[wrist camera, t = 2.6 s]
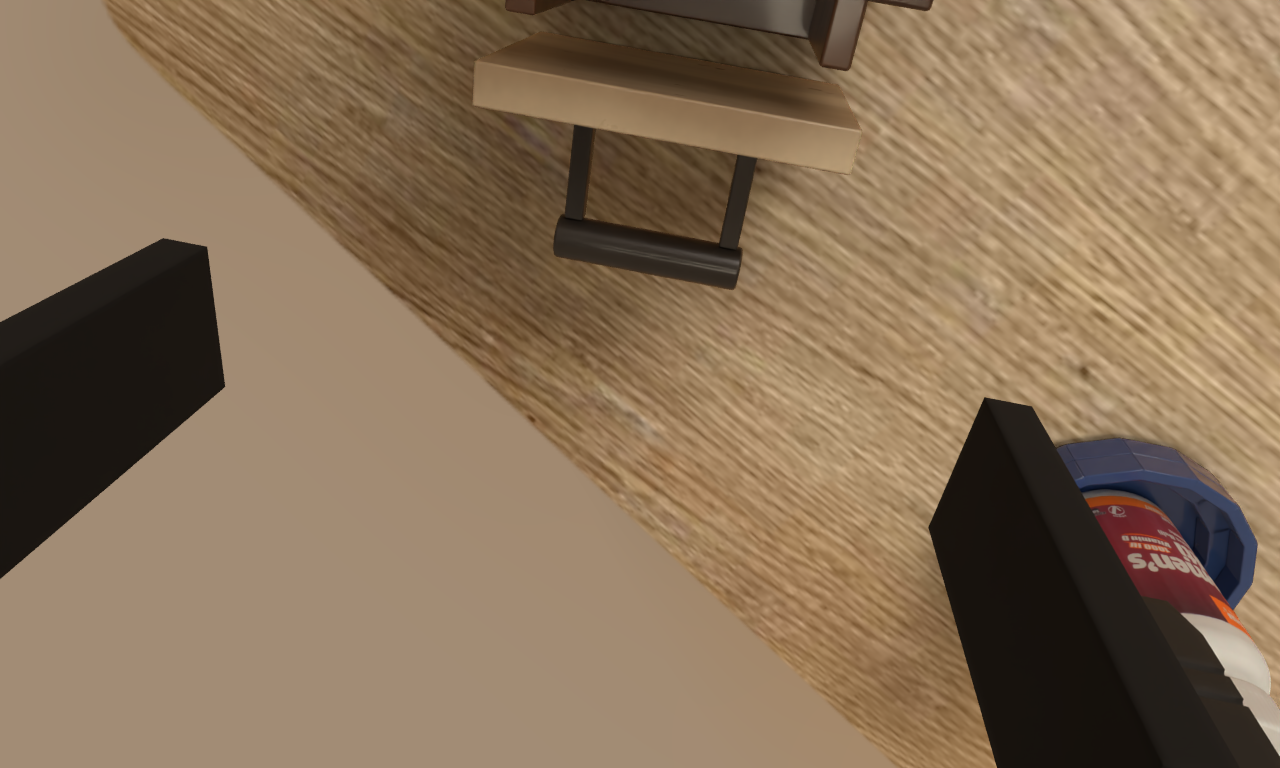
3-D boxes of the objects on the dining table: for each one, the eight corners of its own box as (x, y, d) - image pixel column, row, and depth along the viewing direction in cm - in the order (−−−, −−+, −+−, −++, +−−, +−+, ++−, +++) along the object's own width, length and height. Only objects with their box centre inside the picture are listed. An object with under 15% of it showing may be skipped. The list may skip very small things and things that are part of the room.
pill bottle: (1200, 512, 34) (1378, 747, 24) (1112, 609, 37) (1238, 852, 27) (1067, 464, 34) (1192, 681, 24) (989, 566, 37) (1072, 795, 27)
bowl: (930, 597, 39) (941, 639, 36) (1015, 413, 33) (1033, 447, 31) (1153, 643, 38) (1177, 687, 36) (1274, 463, 33) (1312, 502, 31)
